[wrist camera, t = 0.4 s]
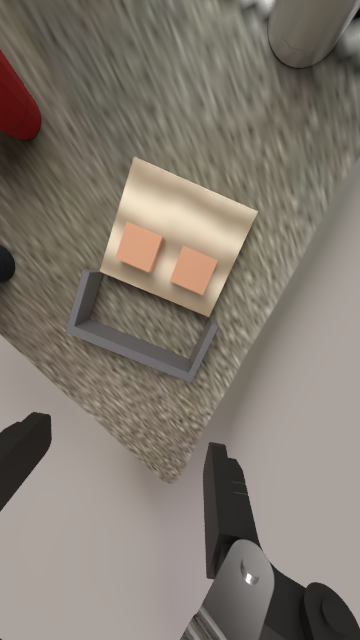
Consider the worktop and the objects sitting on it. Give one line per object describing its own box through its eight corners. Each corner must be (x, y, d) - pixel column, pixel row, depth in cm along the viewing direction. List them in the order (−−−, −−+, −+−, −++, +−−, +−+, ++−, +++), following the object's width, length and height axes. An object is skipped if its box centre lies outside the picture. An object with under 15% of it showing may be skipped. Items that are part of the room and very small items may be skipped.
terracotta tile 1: (132, 224, 30) (126, 221, 28) (164, 238, 30) (162, 236, 28) (121, 258, 31) (115, 258, 29) (152, 272, 31) (149, 272, 29)
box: (98, 269, 35) (83, 269, 30) (215, 318, 36) (218, 326, 31) (81, 324, 37) (65, 332, 33) (191, 368, 38) (191, 383, 33)
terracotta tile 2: (184, 247, 30) (183, 245, 28) (216, 261, 31) (218, 260, 28) (171, 279, 32) (169, 281, 29) (202, 293, 32) (202, 295, 29)
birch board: (139, 167, 31) (134, 156, 28) (251, 216, 32) (257, 211, 29) (107, 271, 35) (99, 271, 32) (207, 313, 36) (209, 317, 33)
